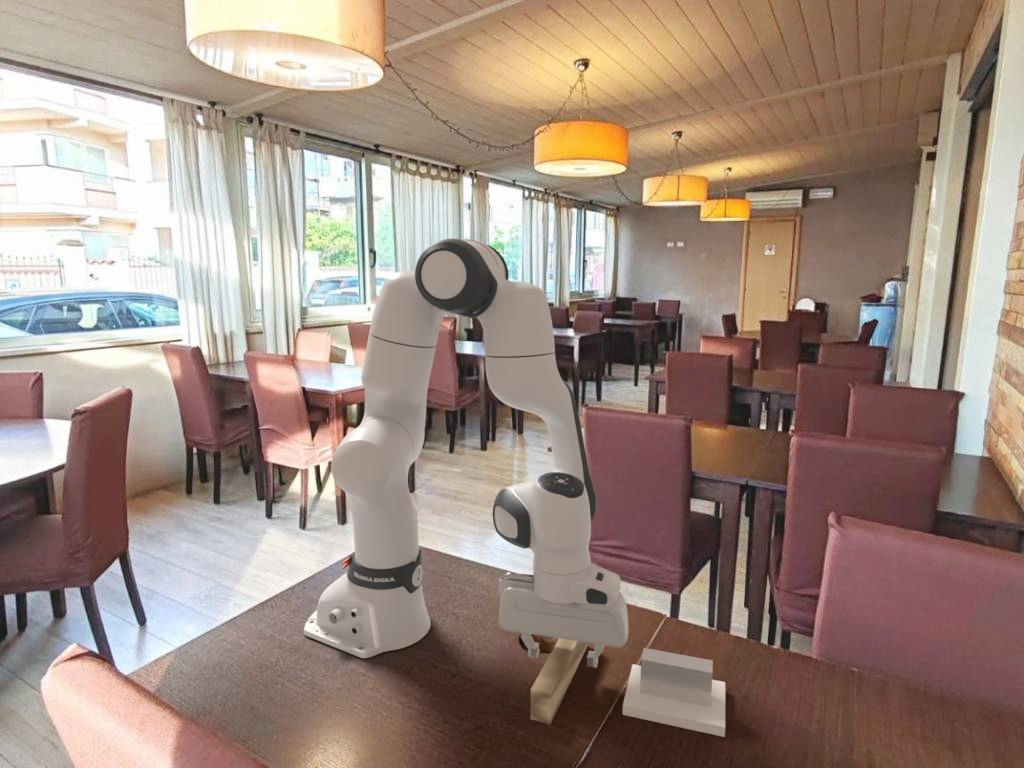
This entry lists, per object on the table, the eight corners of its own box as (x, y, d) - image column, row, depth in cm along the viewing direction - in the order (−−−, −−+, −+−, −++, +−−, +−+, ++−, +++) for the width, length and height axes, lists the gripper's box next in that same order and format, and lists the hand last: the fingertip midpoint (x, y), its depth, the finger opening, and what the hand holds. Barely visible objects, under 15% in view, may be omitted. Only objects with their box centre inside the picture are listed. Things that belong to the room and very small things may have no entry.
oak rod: (530, 720, 89) (530, 689, 88) (570, 643, 107) (571, 617, 106) (550, 726, 88) (550, 694, 87) (587, 647, 106) (588, 620, 105)
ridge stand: (622, 714, 90) (623, 671, 88) (632, 672, 99) (633, 632, 98) (724, 737, 85) (727, 691, 84) (724, 690, 94) (727, 649, 93)
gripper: (491, 580, 95) (494, 661, 98) (625, 597, 89) (624, 683, 92) (503, 562, 101) (506, 638, 104) (630, 577, 95) (629, 658, 98)
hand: (562, 660), depth 98 cm, fingers open, 8 cm apart
